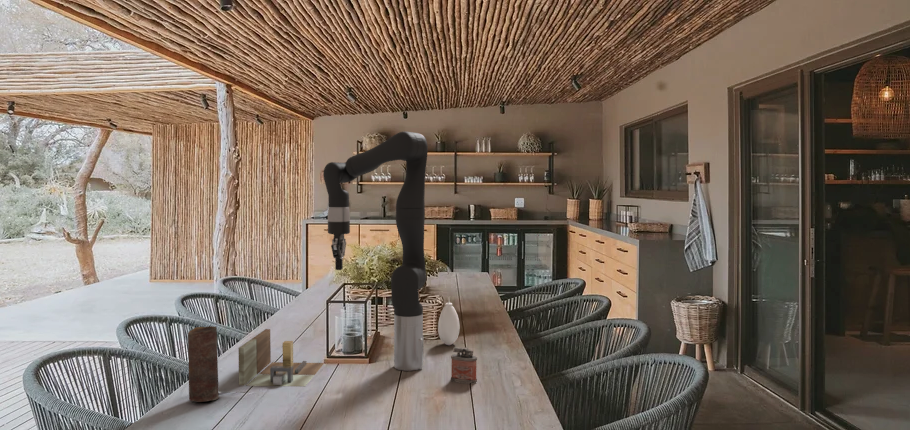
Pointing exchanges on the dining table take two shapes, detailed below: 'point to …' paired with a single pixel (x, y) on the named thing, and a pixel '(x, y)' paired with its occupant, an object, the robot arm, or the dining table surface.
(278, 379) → the bolt
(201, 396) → the candle
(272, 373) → the rails
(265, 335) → the door mockup
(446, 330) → the white ceramic vase
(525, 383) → the dining table surface
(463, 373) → the lighter
